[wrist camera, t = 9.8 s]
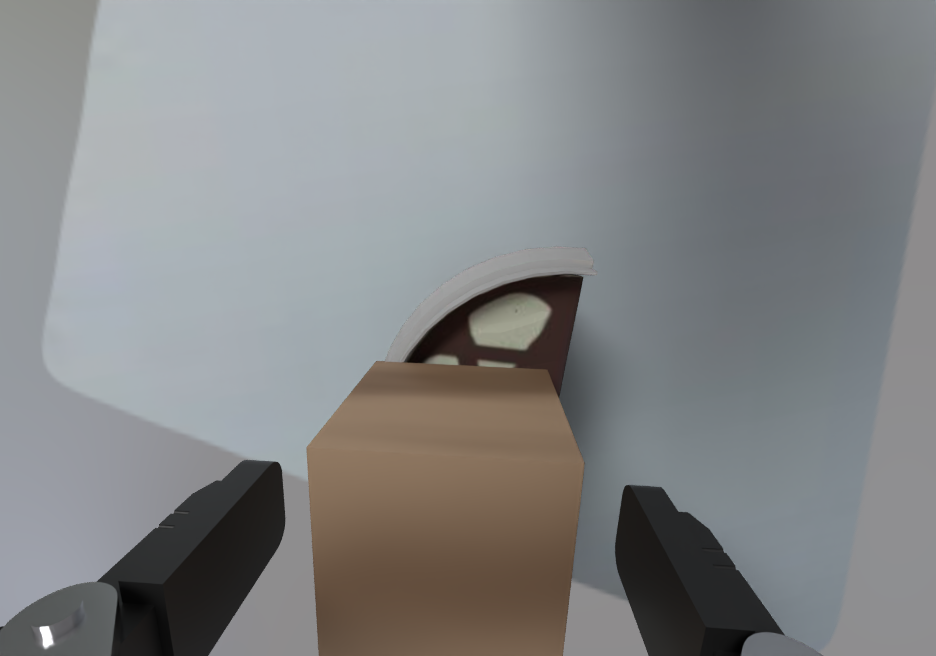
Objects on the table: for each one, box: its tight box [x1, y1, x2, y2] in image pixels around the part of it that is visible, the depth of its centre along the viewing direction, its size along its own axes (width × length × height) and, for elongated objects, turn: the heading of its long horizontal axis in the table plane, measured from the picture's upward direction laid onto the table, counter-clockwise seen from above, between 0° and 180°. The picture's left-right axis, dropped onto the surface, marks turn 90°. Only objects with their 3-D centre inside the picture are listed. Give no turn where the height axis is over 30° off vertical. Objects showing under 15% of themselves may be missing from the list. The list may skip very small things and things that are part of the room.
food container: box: [385, 247, 597, 398], centre depth 18 cm, size 12×6×10 cm, turn 172°
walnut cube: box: [307, 361, 585, 656], centre depth 11 cm, size 5×5×5 cm
